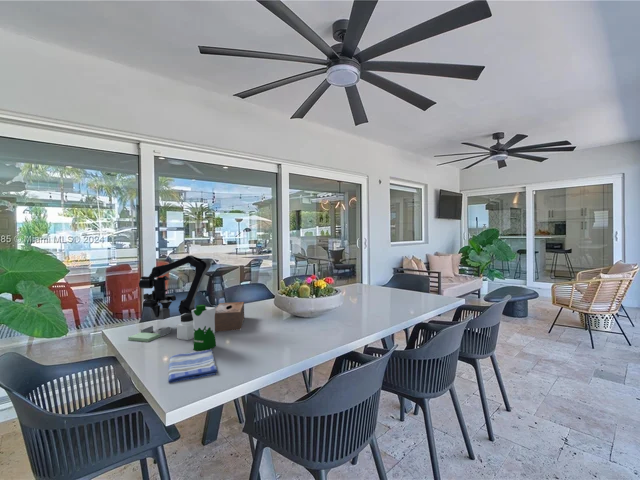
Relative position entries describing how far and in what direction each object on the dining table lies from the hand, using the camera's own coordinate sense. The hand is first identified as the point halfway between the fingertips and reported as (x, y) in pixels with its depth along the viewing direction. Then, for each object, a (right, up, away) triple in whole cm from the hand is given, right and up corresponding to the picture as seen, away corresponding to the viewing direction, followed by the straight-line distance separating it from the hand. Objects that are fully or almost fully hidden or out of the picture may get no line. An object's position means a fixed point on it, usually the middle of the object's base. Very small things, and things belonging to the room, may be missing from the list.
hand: (160, 316), depth 179 cm
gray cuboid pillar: (0, -1, 0) cm, 1 cm away
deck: (+1, -7, -14) cm, 16 cm away
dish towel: (+39, -8, -53) cm, 67 cm away
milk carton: (+37, -7, -33) cm, 50 cm away
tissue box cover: (+37, -6, +5) cm, 38 cm away
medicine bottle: (+22, -7, -18) cm, 29 cm away
